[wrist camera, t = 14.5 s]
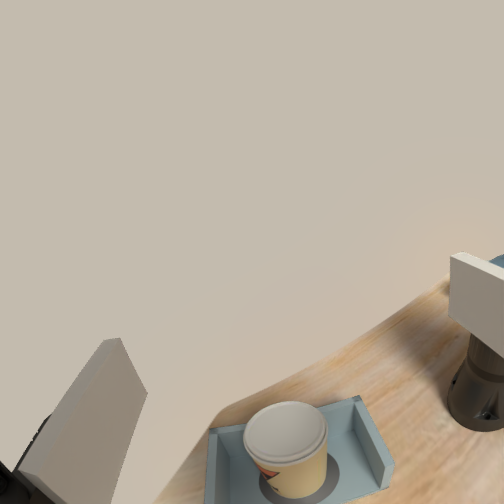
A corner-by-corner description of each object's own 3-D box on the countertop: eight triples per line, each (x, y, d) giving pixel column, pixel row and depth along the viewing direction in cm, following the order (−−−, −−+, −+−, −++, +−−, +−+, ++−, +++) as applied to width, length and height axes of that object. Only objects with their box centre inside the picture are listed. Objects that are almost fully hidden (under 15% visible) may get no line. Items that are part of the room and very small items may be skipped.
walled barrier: (359, 424, 37) (359, 394, 35) (388, 487, 24) (395, 463, 22) (223, 454, 37) (209, 428, 35) (222, 523, 24) (204, 504, 22)
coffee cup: (256, 463, 33) (234, 413, 31) (317, 443, 35) (308, 389, 32) (273, 512, 25) (251, 472, 22) (343, 487, 26) (342, 439, 23)
